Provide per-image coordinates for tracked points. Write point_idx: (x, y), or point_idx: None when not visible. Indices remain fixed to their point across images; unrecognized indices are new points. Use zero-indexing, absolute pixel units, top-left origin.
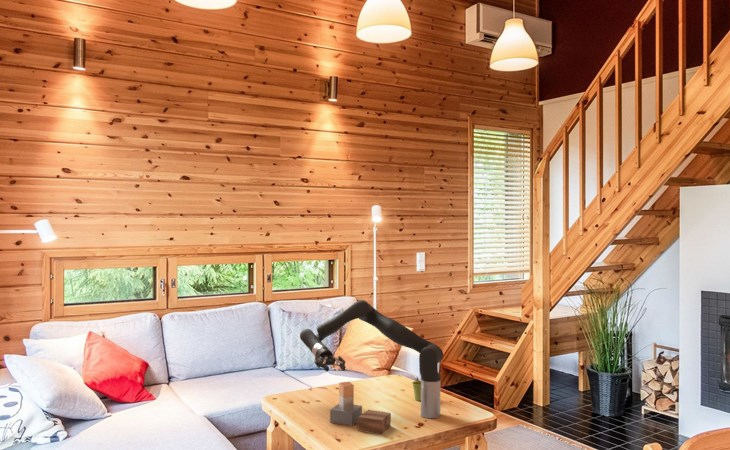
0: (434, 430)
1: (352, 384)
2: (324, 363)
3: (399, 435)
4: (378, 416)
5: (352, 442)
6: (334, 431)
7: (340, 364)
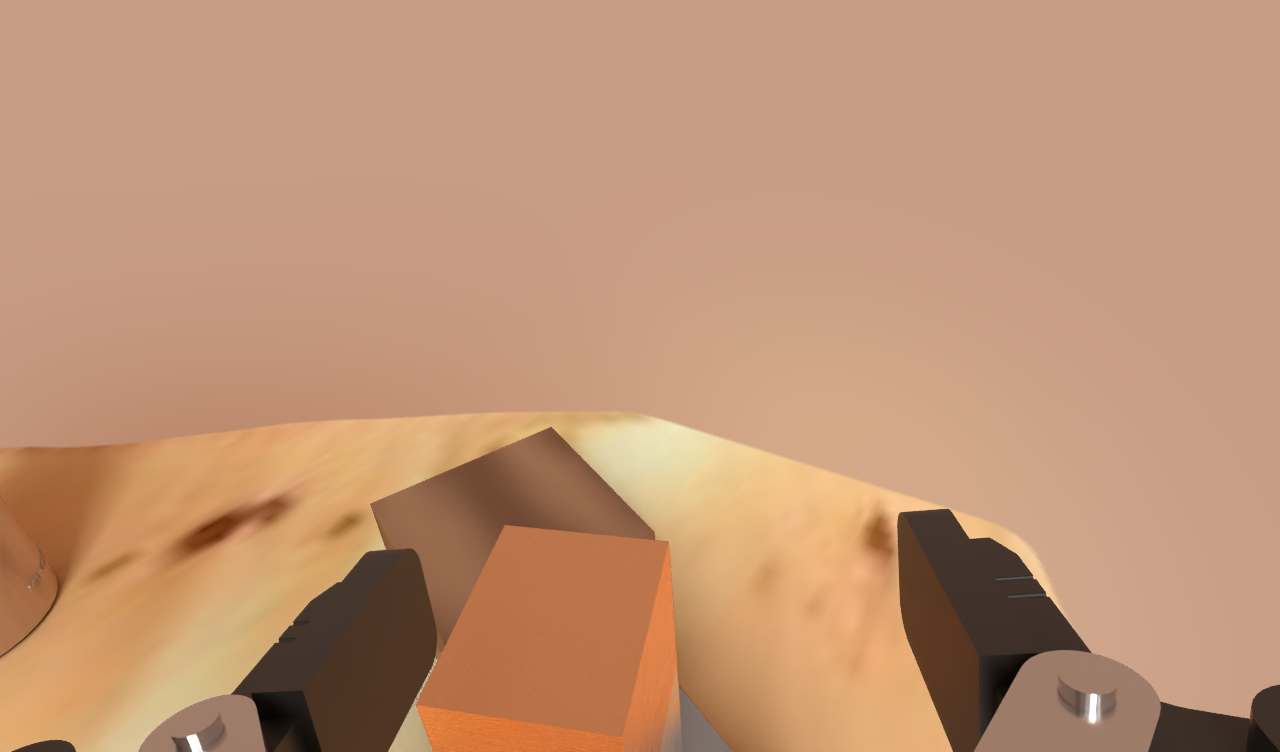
0: (273, 439)
1: (498, 551)
2: (1052, 659)
3: None
4: (508, 484)
5: (804, 475)
6: (860, 681)
7: (317, 730)
